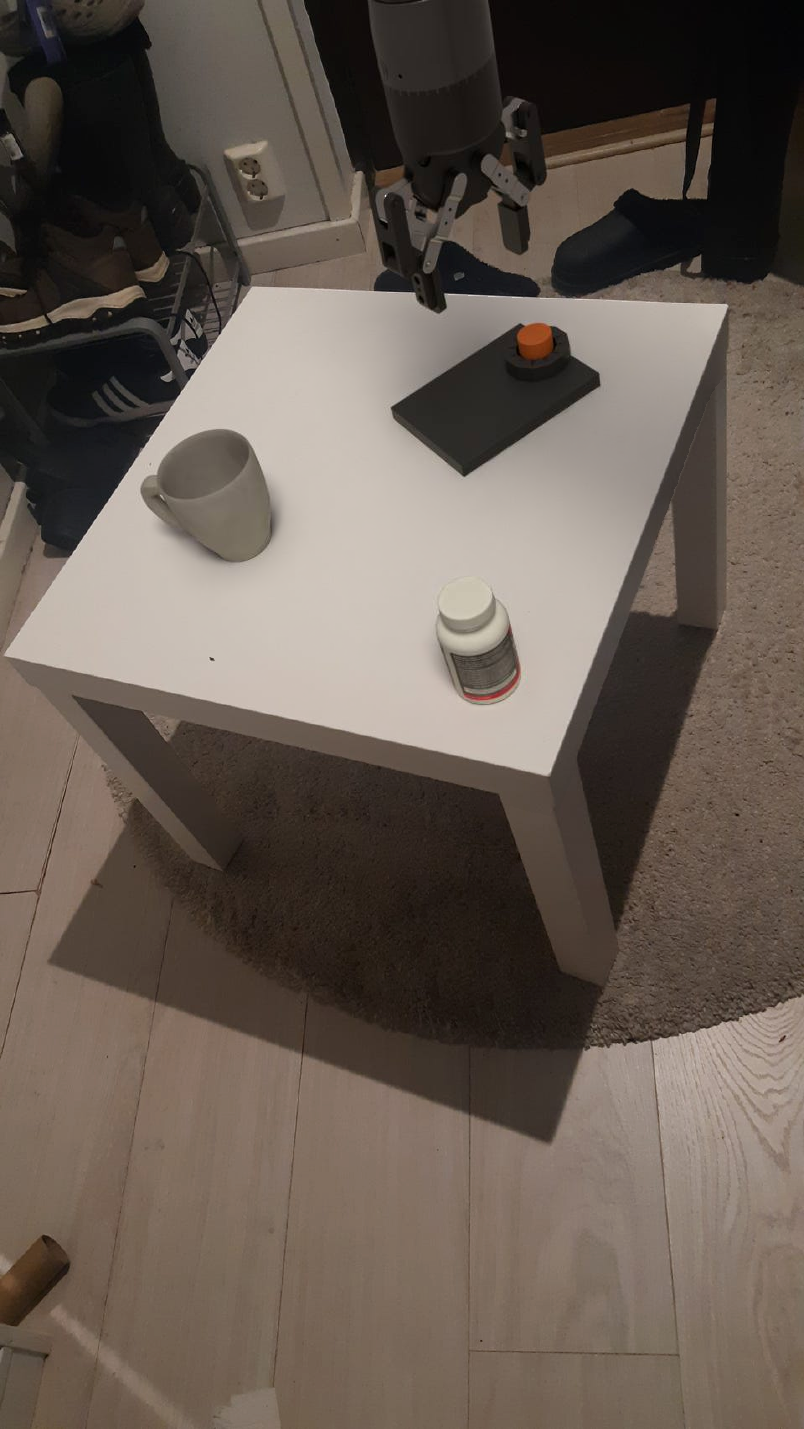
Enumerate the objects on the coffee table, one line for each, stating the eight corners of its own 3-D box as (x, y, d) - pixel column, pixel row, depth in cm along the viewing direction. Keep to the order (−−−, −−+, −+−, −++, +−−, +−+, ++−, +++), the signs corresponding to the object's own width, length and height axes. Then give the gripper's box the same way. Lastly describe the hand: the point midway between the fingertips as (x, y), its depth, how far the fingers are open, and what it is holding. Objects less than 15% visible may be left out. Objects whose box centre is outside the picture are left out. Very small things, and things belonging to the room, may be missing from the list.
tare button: (539, 334, 94) (537, 318, 93) (560, 347, 92) (558, 331, 91) (512, 351, 93) (510, 335, 92) (533, 365, 92) (531, 349, 90)
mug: (299, 504, 93) (263, 425, 85) (274, 576, 88) (234, 499, 81) (186, 507, 96) (142, 431, 89) (157, 577, 92) (108, 503, 84)
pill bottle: (536, 671, 76) (518, 590, 68) (489, 718, 74) (465, 640, 67) (486, 639, 79) (463, 557, 71) (439, 683, 77) (411, 605, 70)
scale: (526, 331, 99) (522, 305, 96) (605, 382, 92) (603, 355, 90) (393, 418, 96) (385, 394, 94) (464, 477, 89) (457, 452, 87)
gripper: (387, 125, 60) (438, 347, 73) (556, 13, 63) (576, 246, 76) (318, 96, 64) (378, 311, 78) (479, -8, 67) (511, 217, 80)
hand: (476, 279), depth 77 cm, fingers open, 8 cm apart
